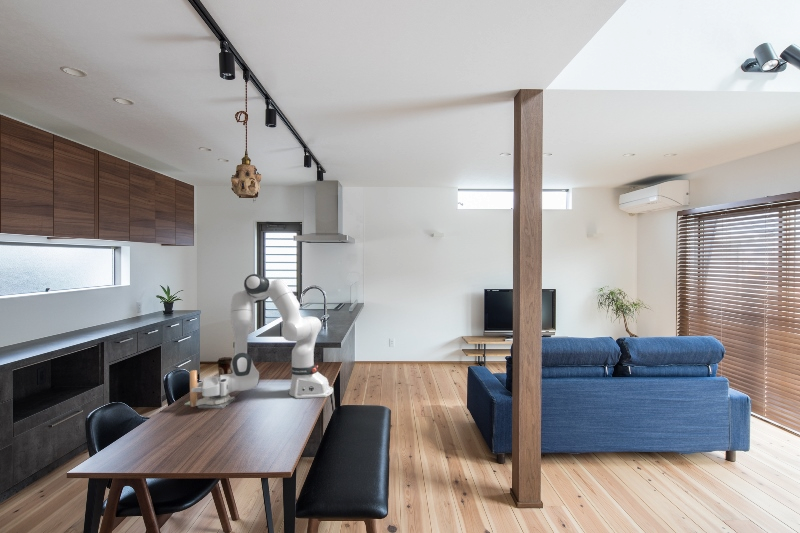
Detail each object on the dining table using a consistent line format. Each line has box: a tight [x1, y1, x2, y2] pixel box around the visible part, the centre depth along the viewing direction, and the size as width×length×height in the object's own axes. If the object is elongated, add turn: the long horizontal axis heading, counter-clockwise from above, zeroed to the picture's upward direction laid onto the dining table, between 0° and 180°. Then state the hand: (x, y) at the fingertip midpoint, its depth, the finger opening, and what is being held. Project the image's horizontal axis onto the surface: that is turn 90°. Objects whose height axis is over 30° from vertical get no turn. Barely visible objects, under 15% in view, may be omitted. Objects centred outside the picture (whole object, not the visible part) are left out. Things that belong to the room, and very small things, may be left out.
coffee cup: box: [216, 356, 233, 377], centre depth 224 cm, size 9×8×13 cm
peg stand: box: [189, 369, 231, 407], centre depth 185 cm, size 17×11×16 cm, turn 127°
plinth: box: [197, 395, 236, 409], centre depth 187 cm, size 12×12×4 cm
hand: (191, 388), depth 181 cm, fingers open, 4 cm apart
